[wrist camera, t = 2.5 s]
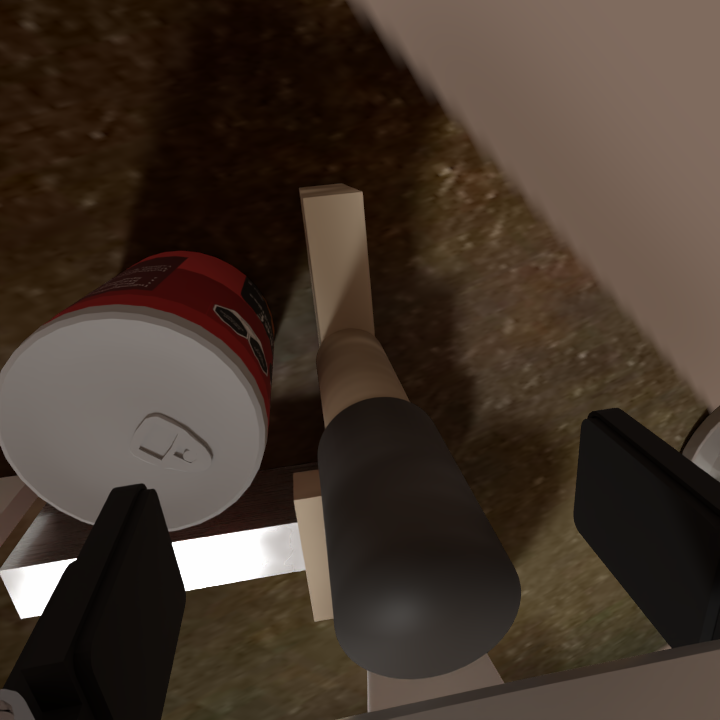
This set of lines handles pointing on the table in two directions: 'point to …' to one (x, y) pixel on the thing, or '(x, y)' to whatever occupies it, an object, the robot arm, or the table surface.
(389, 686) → the cup
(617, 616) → the table surface
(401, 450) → the kicker figure
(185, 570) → the rail
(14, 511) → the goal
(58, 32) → the table surface
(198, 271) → the canned food
